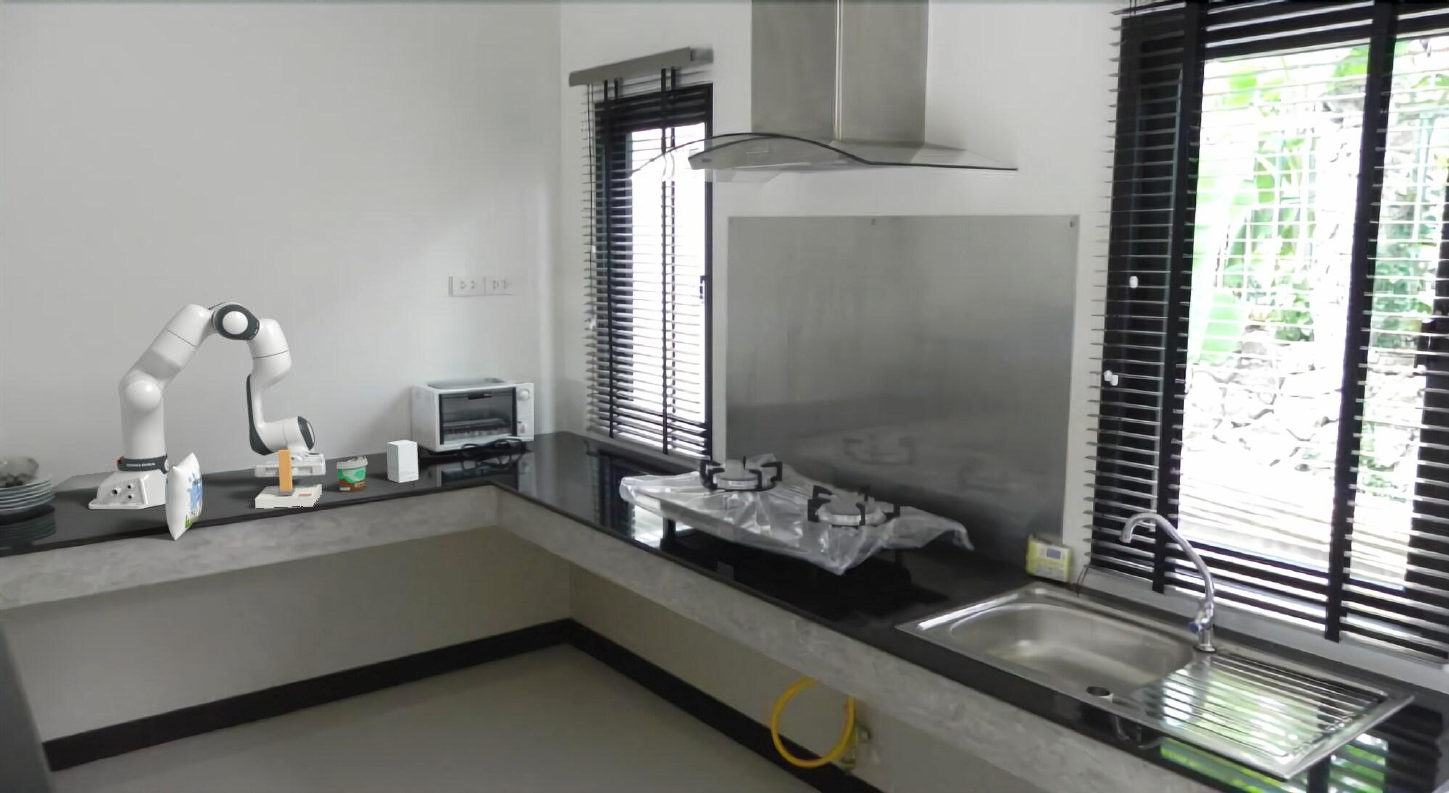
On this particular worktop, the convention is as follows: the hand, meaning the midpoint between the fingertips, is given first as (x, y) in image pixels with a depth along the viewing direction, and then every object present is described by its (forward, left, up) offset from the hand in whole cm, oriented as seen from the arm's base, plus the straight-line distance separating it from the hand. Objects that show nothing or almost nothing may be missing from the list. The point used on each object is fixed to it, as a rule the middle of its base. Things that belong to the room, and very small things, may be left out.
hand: (286, 474), depth 317 cm
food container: (+18, +15, -9) cm, 25 cm away
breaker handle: (0, -1, -6) cm, 6 cm away
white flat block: (0, +3, -9) cm, 9 cm away
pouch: (-21, -27, -9) cm, 36 cm away
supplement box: (+31, +27, -9) cm, 42 cm away
